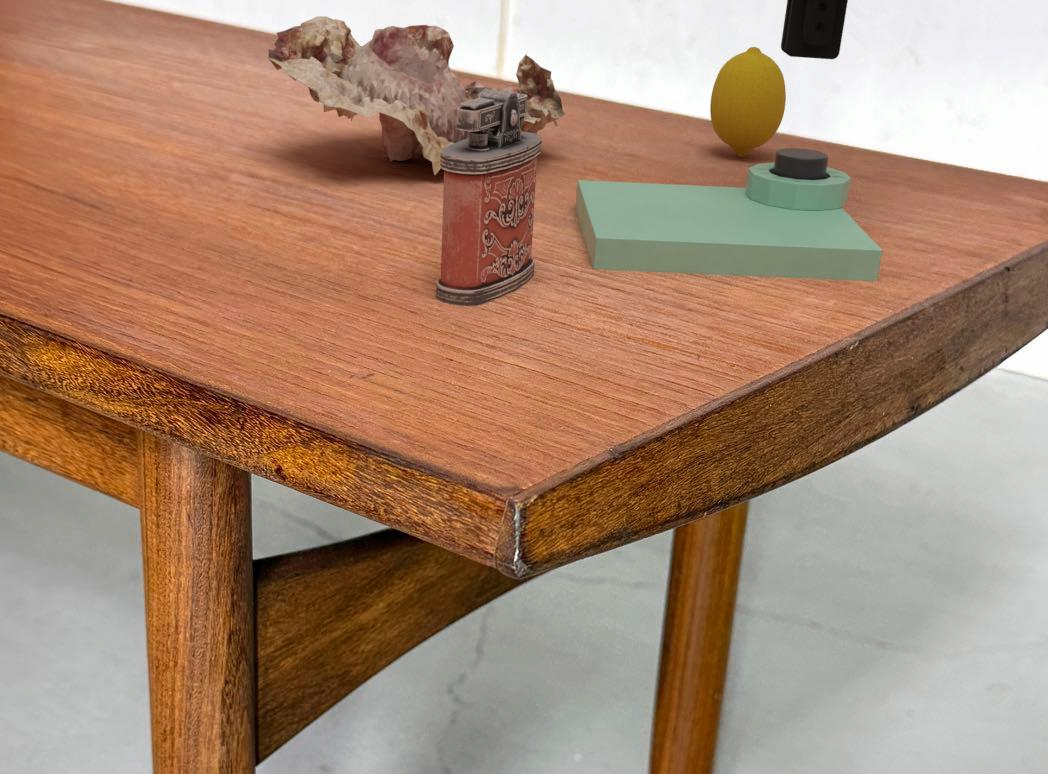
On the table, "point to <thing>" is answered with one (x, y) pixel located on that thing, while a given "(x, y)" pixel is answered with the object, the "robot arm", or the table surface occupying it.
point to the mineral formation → (400, 83)
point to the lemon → (748, 101)
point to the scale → (728, 228)
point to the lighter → (488, 202)
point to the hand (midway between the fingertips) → (809, 55)
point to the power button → (800, 164)
